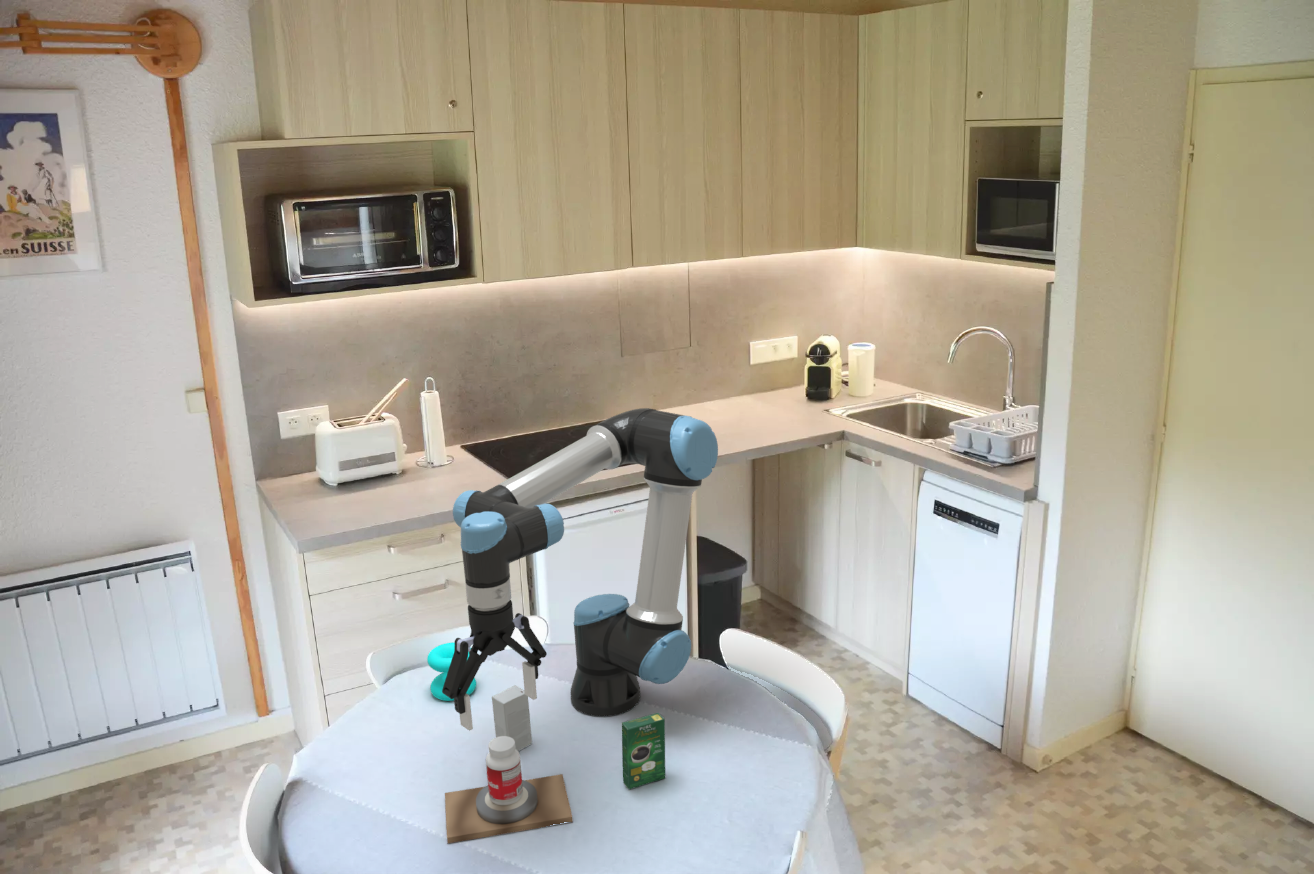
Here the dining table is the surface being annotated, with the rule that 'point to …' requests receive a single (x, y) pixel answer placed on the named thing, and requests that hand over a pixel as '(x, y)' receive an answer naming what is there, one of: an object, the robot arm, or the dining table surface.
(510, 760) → the pill bottle
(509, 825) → the seat board
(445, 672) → the donuts
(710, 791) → the dining table surface
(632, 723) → the coffee box
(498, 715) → the skincare box
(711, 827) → the dining table surface
